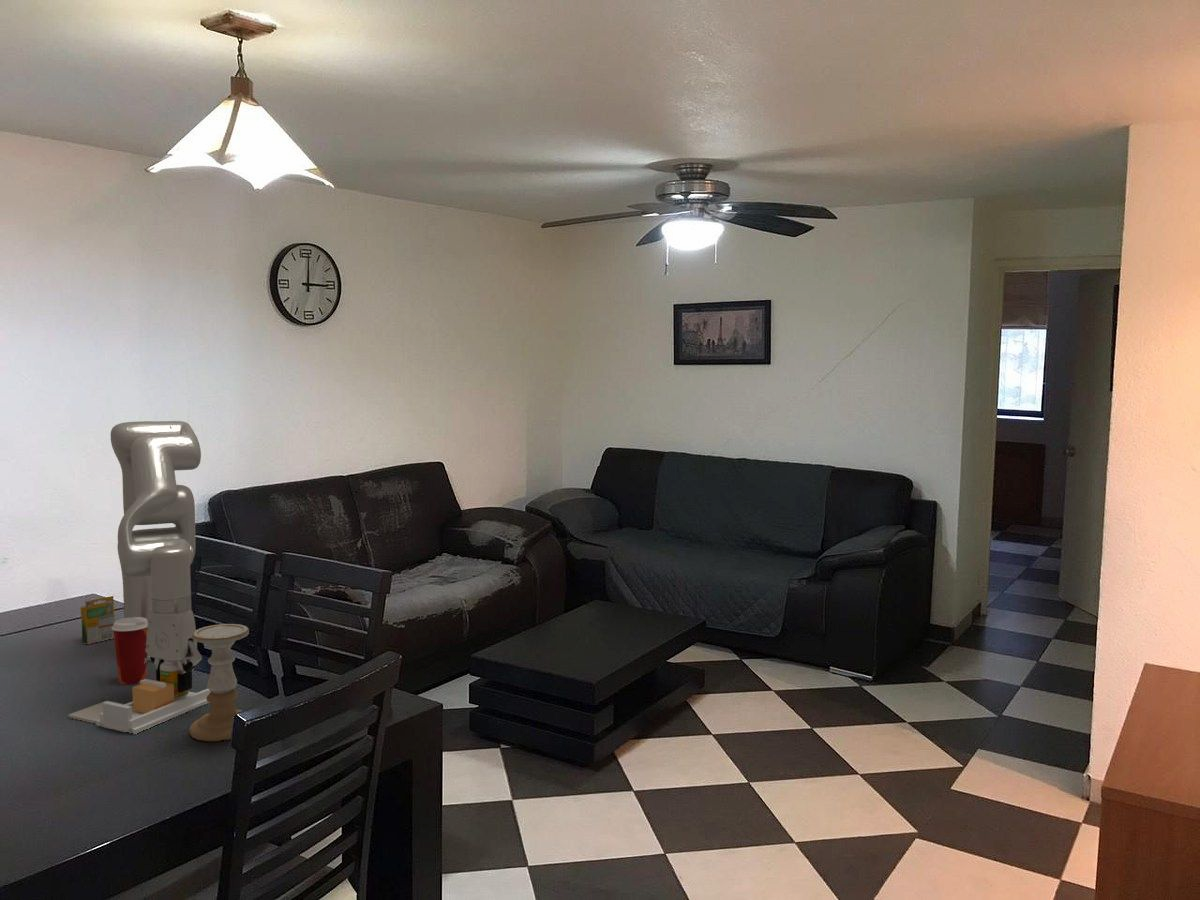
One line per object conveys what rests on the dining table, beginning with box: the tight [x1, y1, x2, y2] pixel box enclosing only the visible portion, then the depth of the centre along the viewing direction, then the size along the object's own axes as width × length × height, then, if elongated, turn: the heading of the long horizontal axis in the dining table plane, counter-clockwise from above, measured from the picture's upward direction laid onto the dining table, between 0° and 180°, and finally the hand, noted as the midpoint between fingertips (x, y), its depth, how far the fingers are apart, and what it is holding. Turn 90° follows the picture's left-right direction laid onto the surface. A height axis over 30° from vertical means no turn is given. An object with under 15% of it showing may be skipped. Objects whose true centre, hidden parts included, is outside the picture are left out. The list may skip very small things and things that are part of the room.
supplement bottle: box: [160, 660, 189, 700], centre depth 194 cm, size 5×5×10 cm
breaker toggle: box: [131, 678, 174, 713], centre depth 189 cm, size 5×6×6 cm
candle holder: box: [188, 623, 250, 742], centre depth 181 cm, size 12×12×20 cm
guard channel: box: [95, 688, 211, 735], centre depth 191 cm, size 20×11×5 cm, turn 157°
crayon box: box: [80, 595, 116, 645], centre depth 240 cm, size 7×3×12 cm, turn 144°
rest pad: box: [67, 700, 124, 725], centre depth 190 cm, size 9×9×1 cm
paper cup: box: [112, 617, 148, 686], centre depth 210 cm, size 8×8×14 cm
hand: (174, 687), depth 194 cm, fingers closed on supplement bottle, 5 cm apart
